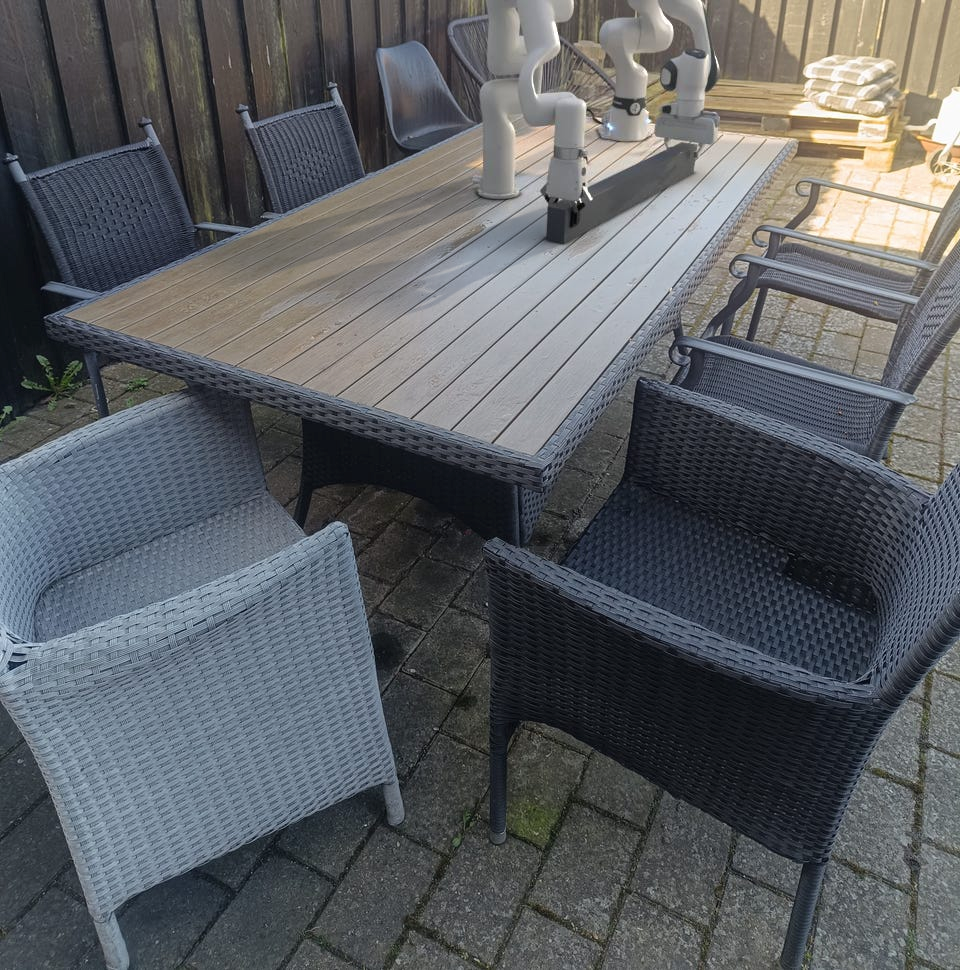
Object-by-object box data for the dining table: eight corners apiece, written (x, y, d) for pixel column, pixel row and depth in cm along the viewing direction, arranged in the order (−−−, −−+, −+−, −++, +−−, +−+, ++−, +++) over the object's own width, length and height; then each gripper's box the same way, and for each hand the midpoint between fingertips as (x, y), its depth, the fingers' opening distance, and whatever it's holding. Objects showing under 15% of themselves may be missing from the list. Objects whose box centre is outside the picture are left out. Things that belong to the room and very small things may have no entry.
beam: (563, 243, 220) (565, 210, 215) (545, 239, 223) (547, 206, 217) (693, 172, 274) (697, 144, 268) (677, 170, 276) (681, 142, 271)
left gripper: (605, 154, 210) (599, 226, 221) (547, 144, 218) (544, 214, 229) (590, 161, 205) (585, 234, 216) (531, 150, 213) (529, 221, 224)
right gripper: (724, 110, 257) (717, 157, 265) (663, 103, 267) (658, 148, 275) (716, 114, 253) (709, 162, 261) (654, 106, 263) (649, 152, 271)
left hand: (564, 223), depth 222 cm, fingers closed on beam, 5 cm apart
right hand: (682, 155), depth 268 cm, fingers open, 8 cm apart
